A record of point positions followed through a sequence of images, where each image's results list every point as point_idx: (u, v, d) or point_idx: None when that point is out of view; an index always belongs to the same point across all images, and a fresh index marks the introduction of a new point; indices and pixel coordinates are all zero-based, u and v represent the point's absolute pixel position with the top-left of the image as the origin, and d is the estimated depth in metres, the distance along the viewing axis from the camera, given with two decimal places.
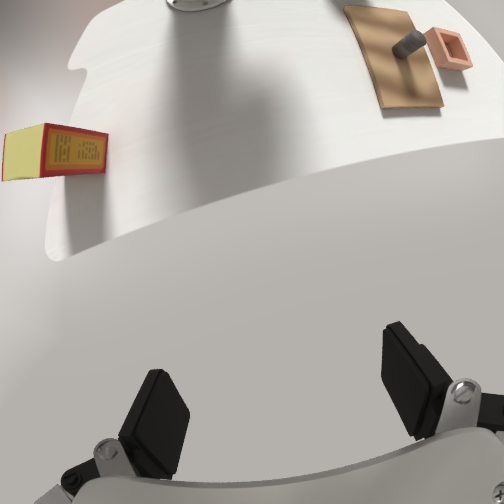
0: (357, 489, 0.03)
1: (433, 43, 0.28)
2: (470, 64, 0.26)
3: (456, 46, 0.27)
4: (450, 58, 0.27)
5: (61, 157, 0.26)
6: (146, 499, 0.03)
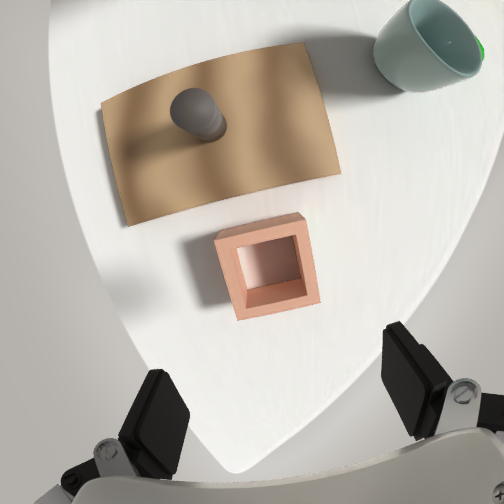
0: (357, 489, 0.03)
1: (268, 222, 0.23)
2: (239, 313, 0.23)
3: (286, 291, 0.24)
4: (225, 249, 0.22)
5: None
6: (146, 499, 0.03)
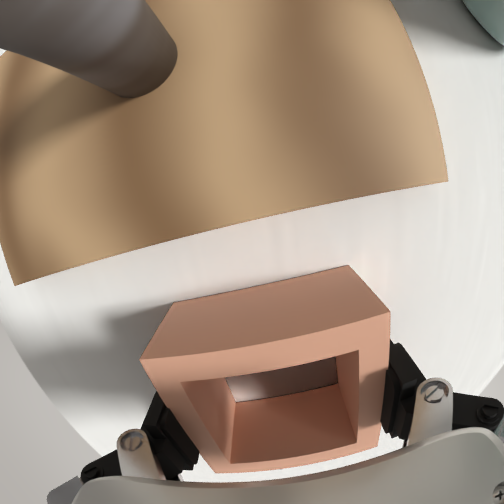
0: (357, 489, 0.03)
1: (282, 301, 0.09)
2: (217, 466, 0.09)
3: (313, 423, 0.10)
4: (171, 380, 0.07)
5: None
6: (146, 499, 0.03)
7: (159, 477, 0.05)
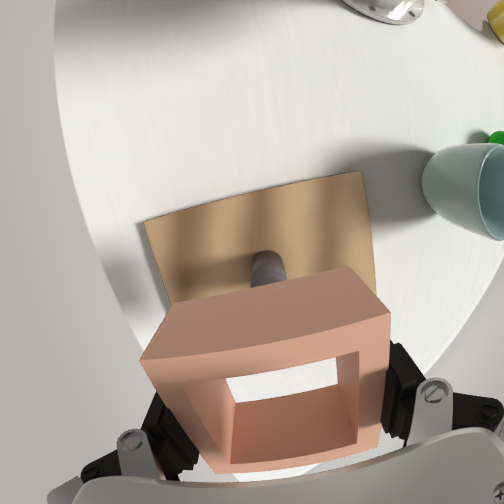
0: (357, 489, 0.03)
1: (282, 302, 0.09)
2: (217, 467, 0.09)
3: (313, 423, 0.10)
4: (171, 381, 0.07)
5: None
6: (146, 499, 0.03)
7: (159, 477, 0.05)
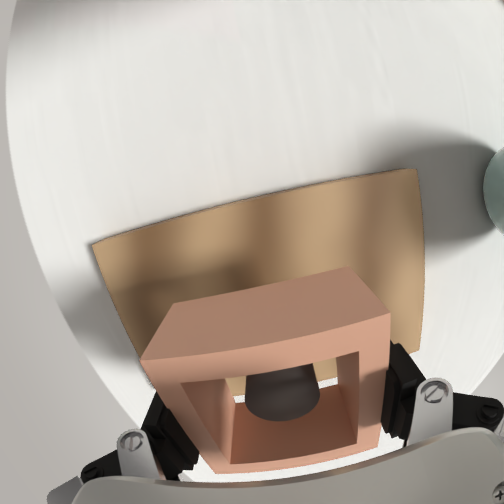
0: (357, 489, 0.03)
1: (282, 302, 0.09)
2: (217, 467, 0.09)
3: (313, 423, 0.10)
4: (171, 381, 0.07)
5: None
6: (146, 499, 0.03)
7: (159, 477, 0.05)
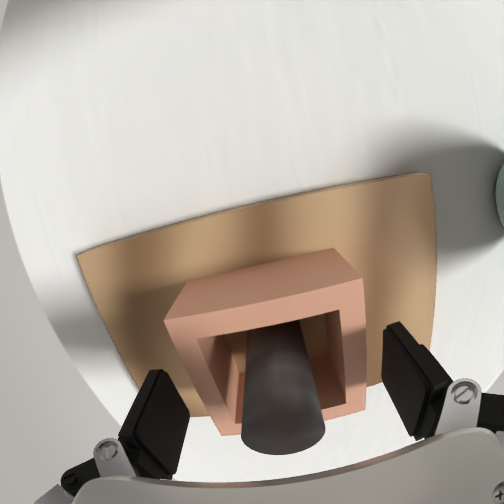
0: (357, 489, 0.03)
1: (278, 274, 0.11)
2: (223, 427, 0.11)
3: None
4: (189, 337, 0.10)
5: None
6: (146, 499, 0.03)
7: None
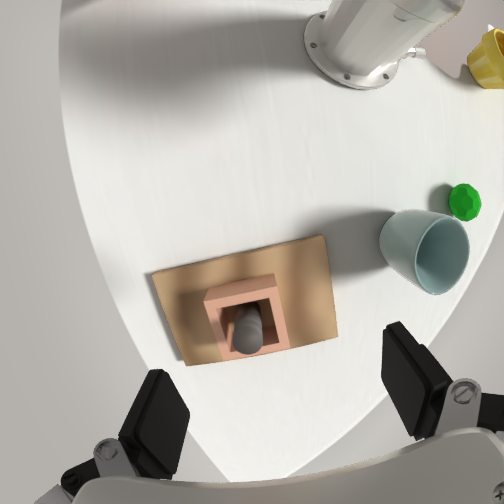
0: (357, 489, 0.03)
1: (247, 284, 0.28)
2: (224, 355, 0.28)
3: (263, 337, 0.29)
4: (213, 308, 0.27)
5: None
6: (146, 499, 0.03)
7: None
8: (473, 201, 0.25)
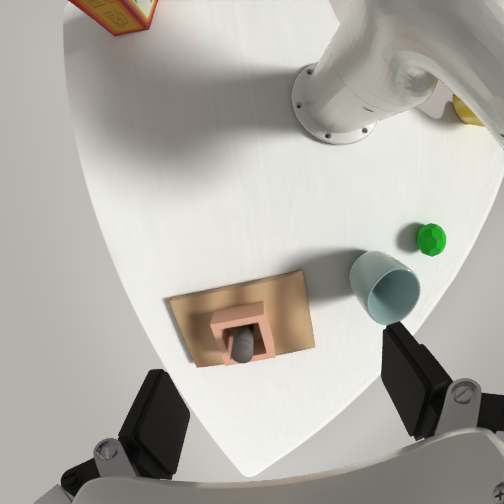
0: (357, 489, 0.03)
1: (243, 310, 0.37)
2: (226, 361, 0.37)
3: (255, 348, 0.38)
4: (217, 329, 0.36)
5: (91, 2, 0.17)
6: (146, 499, 0.03)
7: None
8: (437, 242, 0.32)
